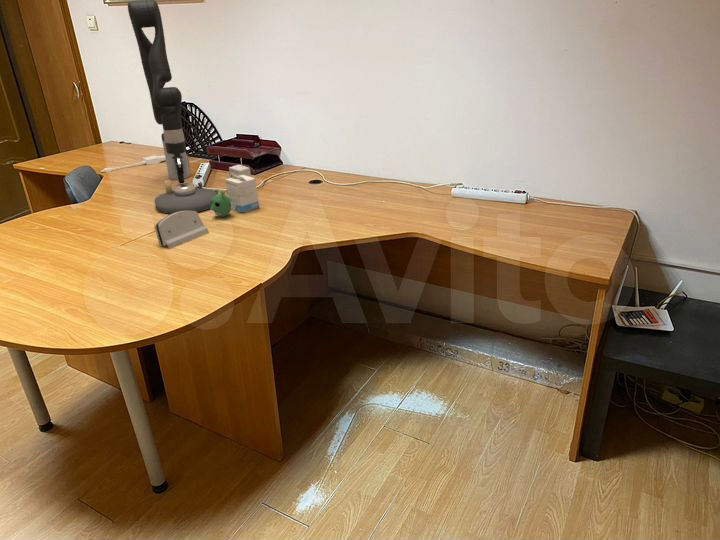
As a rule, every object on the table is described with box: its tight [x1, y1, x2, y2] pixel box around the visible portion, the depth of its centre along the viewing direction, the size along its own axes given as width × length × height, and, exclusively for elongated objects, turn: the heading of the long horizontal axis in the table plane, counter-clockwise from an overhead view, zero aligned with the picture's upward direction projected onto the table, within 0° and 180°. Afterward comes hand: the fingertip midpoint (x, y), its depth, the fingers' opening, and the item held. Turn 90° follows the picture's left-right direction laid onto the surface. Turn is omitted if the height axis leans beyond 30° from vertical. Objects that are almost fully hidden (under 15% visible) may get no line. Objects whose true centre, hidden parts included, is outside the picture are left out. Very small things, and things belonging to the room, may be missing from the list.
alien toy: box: [209, 189, 232, 218], centre depth 184 cm, size 7×8×10 cm
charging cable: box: [100, 154, 166, 173], centre depth 253 cm, size 5×32×3 cm, turn 133°
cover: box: [173, 182, 196, 197], centre depth 201 cm, size 8×8×3 cm
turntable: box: [153, 179, 217, 215], centre depth 197 cm, size 24×24×8 cm
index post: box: [197, 182, 204, 189], centre depth 211 cm, size 2×2×4 cm
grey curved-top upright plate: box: [154, 211, 210, 250], centre depth 166 cm, size 17×5×10 cm, turn 147°
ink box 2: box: [225, 174, 260, 214], centre depth 192 cm, size 9×8×13 cm
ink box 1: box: [228, 164, 252, 178], centre depth 206 cm, size 9×5×12 cm, turn 46°
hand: (181, 182), depth 208 cm, fingers closed
